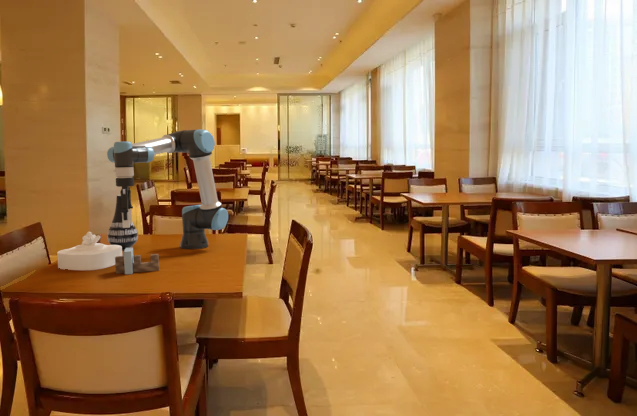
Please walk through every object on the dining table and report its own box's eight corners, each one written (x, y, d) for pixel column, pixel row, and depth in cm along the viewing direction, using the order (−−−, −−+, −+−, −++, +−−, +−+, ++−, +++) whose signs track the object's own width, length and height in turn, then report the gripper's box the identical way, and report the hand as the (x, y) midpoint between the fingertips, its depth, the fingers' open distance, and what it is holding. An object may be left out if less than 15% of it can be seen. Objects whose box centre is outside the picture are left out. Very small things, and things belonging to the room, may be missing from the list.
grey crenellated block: (159, 269, 238) (158, 253, 237) (158, 270, 235) (158, 255, 234) (116, 272, 233) (115, 256, 232) (115, 273, 230) (115, 257, 230)
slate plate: (127, 269, 238) (125, 247, 237) (134, 269, 238) (132, 247, 237) (125, 274, 228) (123, 251, 227) (132, 274, 229) (131, 251, 228)
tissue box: (130, 260, 260) (128, 228, 258) (95, 271, 236) (93, 236, 234) (87, 258, 267) (85, 226, 265) (49, 269, 243) (47, 234, 241)
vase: (101, 250, 286) (98, 196, 283) (122, 245, 301) (119, 193, 298) (124, 251, 280) (121, 196, 277) (144, 246, 295) (142, 194, 292)
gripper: (118, 176, 240) (121, 222, 243) (112, 178, 216) (115, 230, 219) (136, 175, 242) (138, 221, 245) (131, 178, 218) (134, 229, 221)
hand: (127, 225), depth 232 cm, fingers open, 13 cm apart
